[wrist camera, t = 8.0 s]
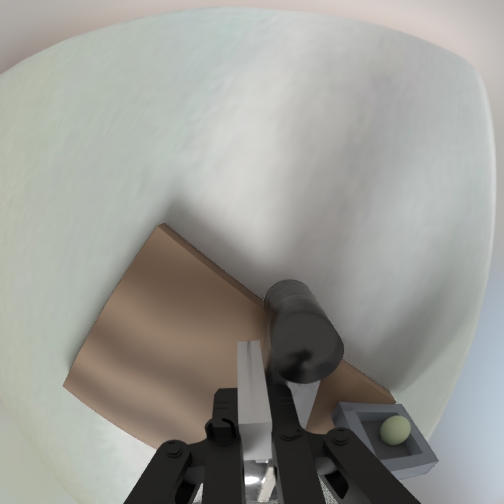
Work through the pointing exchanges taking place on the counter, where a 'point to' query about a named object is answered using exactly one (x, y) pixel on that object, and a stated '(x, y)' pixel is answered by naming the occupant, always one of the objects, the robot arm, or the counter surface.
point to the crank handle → (293, 363)
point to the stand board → (183, 348)
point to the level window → (388, 436)
